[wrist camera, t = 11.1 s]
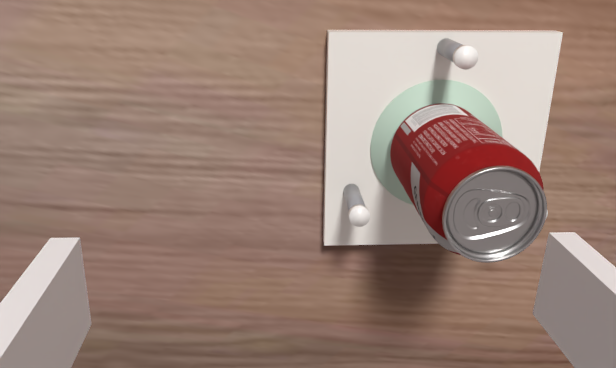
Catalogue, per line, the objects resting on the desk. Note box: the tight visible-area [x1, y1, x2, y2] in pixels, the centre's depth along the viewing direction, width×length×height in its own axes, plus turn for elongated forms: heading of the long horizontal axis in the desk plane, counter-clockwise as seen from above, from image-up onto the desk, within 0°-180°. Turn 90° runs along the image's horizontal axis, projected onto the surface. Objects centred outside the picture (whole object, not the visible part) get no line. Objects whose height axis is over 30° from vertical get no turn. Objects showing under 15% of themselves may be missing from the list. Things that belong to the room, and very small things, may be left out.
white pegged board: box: [323, 30, 563, 246], centre depth 39 cm, size 16×16×6 cm
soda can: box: [390, 103, 547, 262], centre depth 35 cm, size 7×7×12 cm
